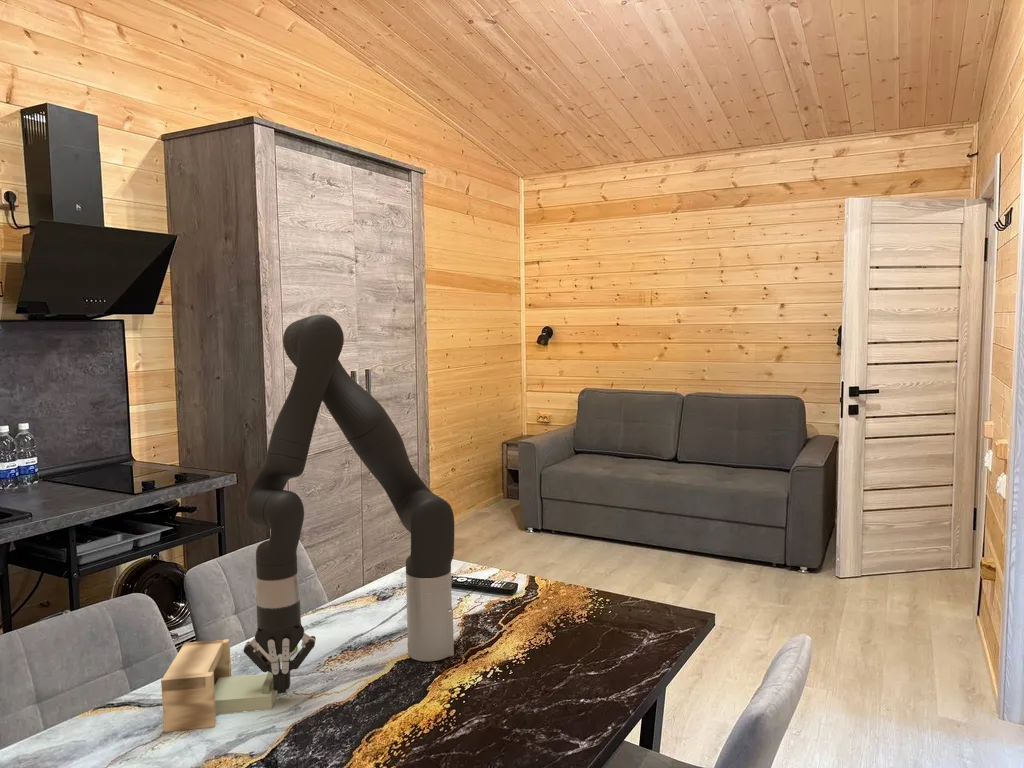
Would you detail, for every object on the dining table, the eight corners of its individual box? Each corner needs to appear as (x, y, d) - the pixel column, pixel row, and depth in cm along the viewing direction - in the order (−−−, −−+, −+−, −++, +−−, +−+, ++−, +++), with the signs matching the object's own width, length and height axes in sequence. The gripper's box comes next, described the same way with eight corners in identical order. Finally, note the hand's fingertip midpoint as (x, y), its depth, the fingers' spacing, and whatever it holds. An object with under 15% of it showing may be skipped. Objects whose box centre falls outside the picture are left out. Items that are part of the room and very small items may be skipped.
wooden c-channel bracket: (231, 684, 141) (229, 639, 140) (214, 726, 126) (211, 675, 126) (187, 689, 140) (184, 642, 139) (164, 731, 125) (161, 680, 124)
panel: (280, 688, 141) (279, 666, 141) (271, 712, 132) (270, 689, 132) (219, 692, 139) (218, 671, 139) (207, 717, 131) (205, 694, 130)
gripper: (317, 588, 139) (321, 678, 140) (243, 594, 136) (247, 685, 138) (314, 603, 131) (318, 697, 133) (235, 609, 129) (240, 705, 130)
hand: (282, 691), depth 135 cm, fingers closed
